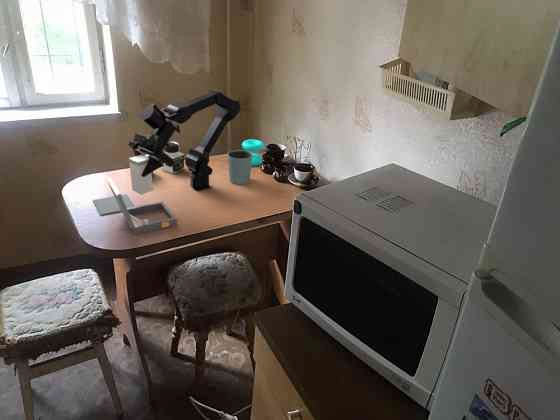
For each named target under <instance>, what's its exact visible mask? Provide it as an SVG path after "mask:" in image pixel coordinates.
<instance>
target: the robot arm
mask: <svg viewBox="0 0 560 420" xmlns="http://www.w3.org/2000/svg"><path fill="white" fill-rule="evenodd" d="M213 105H216V116H215V118H214V119H213V121H212V123H211V125H210V126H209V128H208V130H207V131H206V133H205V135H204V137H202V140H201V142H200V143H199V145H198V146H197V147H196V148H190V149H189V151H188V153H187V154H186V156H185V158H184V166H185V167H186V168H187V169H188V171H189V172H191V176H189V177H190V178H189V180H190V183H189V186H190V187H192V189H193V190H195V191H196V192H197V191H202V190H209V189H211V188H212V187H211V186H210V176H211V175H212V174H213V168H212V167H210V166H209V162H210V153H211V151H212V150H213V148H214V147H215V145H216V143H217V142H218V139H219V138H220V136H221V134H223V133H222V132H223V131H224V130H225V128H226V126H227V124H228V123H229V122H230V121H233V120H234V119H235V118H236V117H237V115H239V113H240V111H241V103H240V102H239V101H238V100H236V99H233V98H231V97H228V96H226V95H225V94H224V93H222V92H220V91H219V90H218V91H217V90H214V89H212V90H210V91H209V92H207V93H205V94H203V95H200V96H197V97H195V98H193V99H190V100H188V101H185V102H176V103H171V104H168V105H167V106H166V107H165V108H162V109H160V108H159V107H158V105H156V104H155V103H150V105H147V106H145V107H144V108H143V109H142V110H140V112H139V119H140V120H141V121H142V122H143V123H145V124H146V125H147V126H148V127H149V128H151V130H154V131H153V132H150V133H148V134H146V135H145V134H142V133H139V132H135V133H134V137H133V139H132V140H130V141H129V142H128V144H127V146H128V147H129V148H130V149H131V150H132V151H133V153H134V154H133V155H134V157H135V156H139V155H143V156H145V155H146V154H148V155H150V156H149V162H148V164H147V165H146V167H145V169H144V171H143V173H142V175H141V176H142V177H145V176H147V175H148V174H150V173H151V172H153V173H154V171H156V170H158V169H161V167H164V165H163V164H164V163H165V165H166V166H169V167H172V165H173V164H174V160H173V159H172V158H171V157H170V156H169V155H167V154H166V153H165V151H164V150H165V149H164V148H165V146H166V147H168V146H169V144H168V142H170V140H171V138H172V137H173V135H174V133H177V134H181V129H180V125H181V124H184V123H186V122H188V121H189V120H190V119H191V118H192V116H193V115H194V114H197V113H198V112H201V111H203V110H205V109H208V108H209V107H211V106H213ZM173 122H174V123H175V124H174V123H173ZM179 124H180V125H179ZM151 156H152V157H151Z"/></svg>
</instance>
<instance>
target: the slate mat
mask: <svg viewBox="0 0 560 420" xmlns="http://www.w3.org/2000/svg"><path fill="white" fill-rule="evenodd" d="M121 196H122V198H123V201H124V203H125V205H126V207H127V208H131V207H136V206H135V204H134V203H133V201H132V200H131V198H130V196H129V195H128V194H127V193H125V194H121ZM92 202H93V204H94V206H95V207H96V209H97V212H98V214H99V216H101V217H102V216H105V215H112V214H116V213H117V214H118V213H122V211H121V210H120V208H119V205H118V203H117V201H116V199H115V197H114V195H113V196H107V197H102V198H96V199H93V200H92Z"/></svg>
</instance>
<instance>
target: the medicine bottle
mask: <svg viewBox="0 0 560 420" xmlns="http://www.w3.org/2000/svg"><path fill="white" fill-rule="evenodd" d="M168 144H169V146H168V147H166V146H165V148H164V149H163V150H164V153H166V154H167V155H169V156H170V157H171V158H172V159H173V160H174V164H173V165H172V167H169V166H166V165H165V163H164V164H163V165H164V167H160V169H161V170H162V171H164V172H167V173H170V174H176V173H178V172H180V171H183V170H185V154H184V153H182V152H180V144H179V143H178V142H177V141H168Z"/></svg>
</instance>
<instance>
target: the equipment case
mask: <svg viewBox="0 0 560 420" xmlns="http://www.w3.org/2000/svg"><path fill="white" fill-rule="evenodd" d="M105 179H106V181H107V184H108V185H109V188H110V190H111V192H112V195H113V196H114V197H115V199H116V201H117V203H118V205H119V208H120V210H121V211H122V212H121V213H122V215H123V217H124V218H125V220H126V222H127V224H128V225H129V227H130V229H131V230H132V232H133V234H134V235H138V234H143V233H148V232H154V231H156V230H160V229H161V230H162V229H166V228H170V227H174V226H177V225H178V223H177V221H178V220H177V219H178V218H177V217H175V215H174V214H173V212H172V211H171V210H170V208H168V206H167V205H166V203H165V202H164V201H158V202H153V203H152V202H151V203H148V204H142V205H137V206H135V207H131V208H127V207H126V205H125V203H124V201H123V198H122V196H121V195H122V194H121V193H120V191H119V189H118V188H117V186H116V184H115V183H114V181H113V180H112V178H111V177H110V176H107V177H105ZM160 210H161V211H162V212H163V214H165V216H166V217H167V219H166V218H165V219H161V220H158V221H157V220H156V221H153V222H149V219H143V220H141V219H140V218H137V217H135V215H139V214H145V213H148V212H149V213H150V212H155V211H160ZM135 221H136V222H138V223H141V224H139V225H138V224H136V222H135Z"/></svg>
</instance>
